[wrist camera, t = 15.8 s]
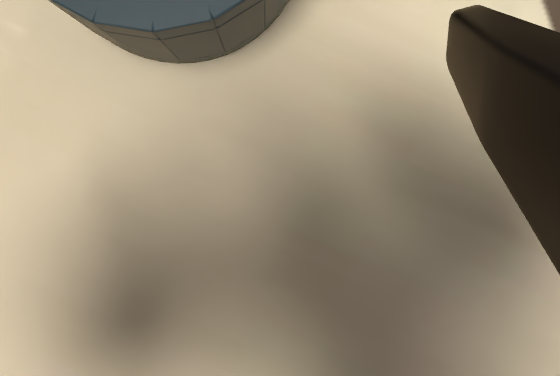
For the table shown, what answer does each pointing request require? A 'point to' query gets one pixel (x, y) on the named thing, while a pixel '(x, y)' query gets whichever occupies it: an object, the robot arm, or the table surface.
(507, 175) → the robot arm
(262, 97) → the table surface
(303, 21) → the table surface
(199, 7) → the blue-grey hollow cylinder
